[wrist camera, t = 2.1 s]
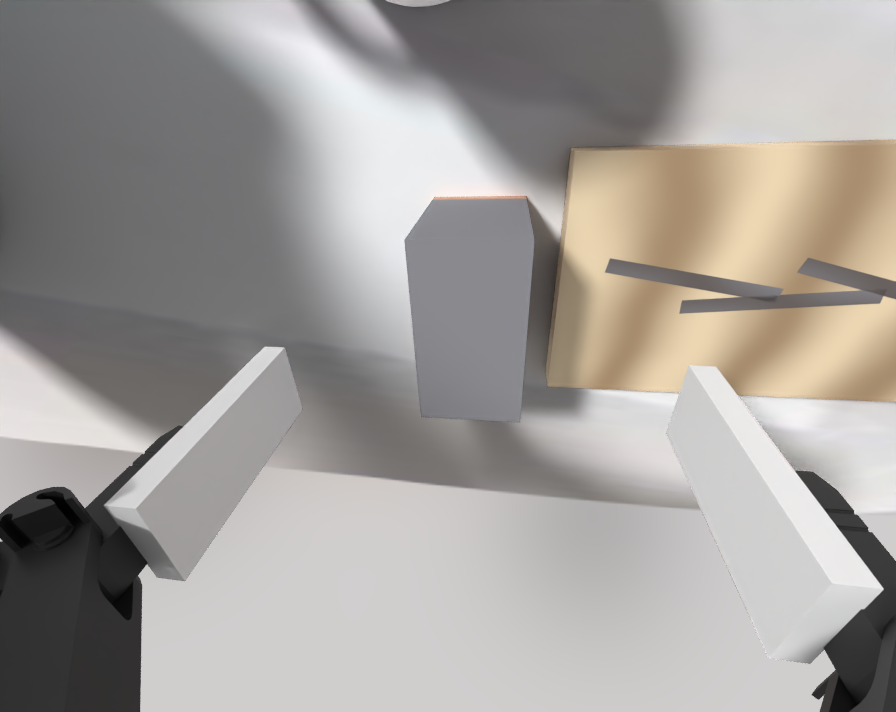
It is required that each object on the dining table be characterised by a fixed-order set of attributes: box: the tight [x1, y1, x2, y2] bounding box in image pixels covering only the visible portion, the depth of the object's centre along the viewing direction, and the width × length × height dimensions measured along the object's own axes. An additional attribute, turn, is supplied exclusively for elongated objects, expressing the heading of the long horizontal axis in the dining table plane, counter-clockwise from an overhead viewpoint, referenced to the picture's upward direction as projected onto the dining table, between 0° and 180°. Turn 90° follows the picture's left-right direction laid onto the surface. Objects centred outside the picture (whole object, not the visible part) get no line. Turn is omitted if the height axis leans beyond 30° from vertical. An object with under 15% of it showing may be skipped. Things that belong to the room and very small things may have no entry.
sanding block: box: [405, 196, 535, 422], centre depth 19 cm, size 4×8×7 cm, turn 2°
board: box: [545, 140, 896, 402], centre depth 19 cm, size 20×12×2 cm, turn 92°
